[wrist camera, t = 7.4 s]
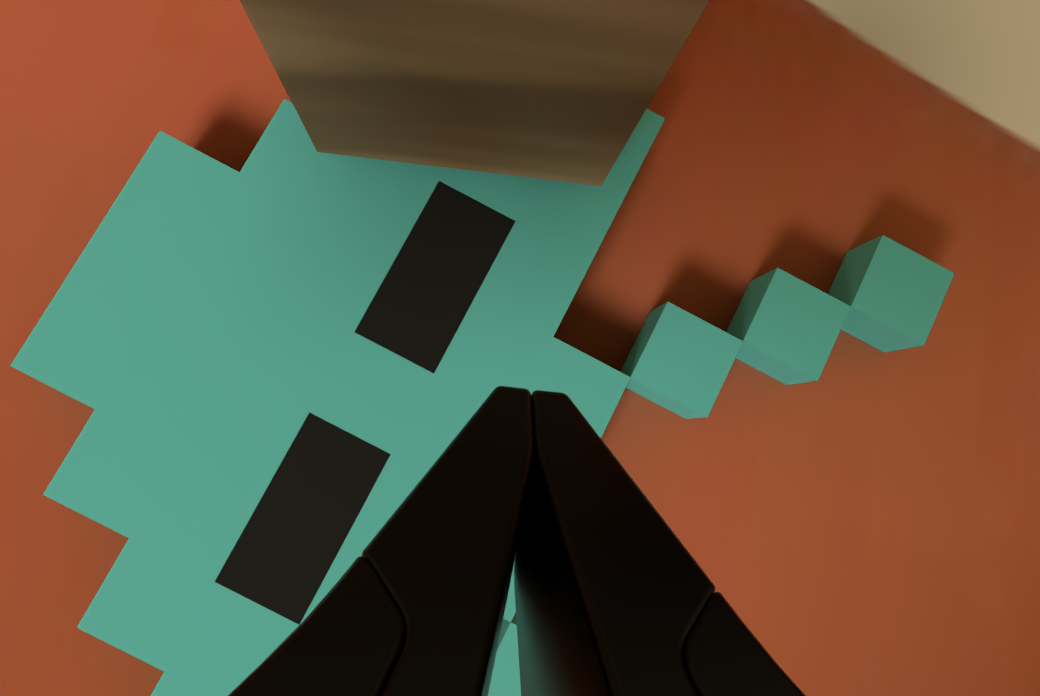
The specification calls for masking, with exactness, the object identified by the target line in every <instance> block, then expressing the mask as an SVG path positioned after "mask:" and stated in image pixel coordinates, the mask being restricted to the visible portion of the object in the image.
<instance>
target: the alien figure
mask: <svg viewBox="0 0 1040 696" xmlns="http://www.w3.org/2000/svg"><path fill="white" fill-rule="evenodd" d="M664 120H665V118H664V117H662V116H660V115H658V114H656V113H654V112H652V111H650V110H649V109H646V110H645V112H644V114H643V116H642V117H641V119H640V121H639V122H638V124H637V126H636V128H635V129H634V131H633V133H632V134H631V136H630V138H629V139H628V141H627V143H626V145H625V146H624V148H623V150H622V151H621V153H620V155H619V157H618V158H617V160H616V162H615V163H614V165H613V167H612V169H611V170H610V172H609V174H608V175H607V177H606V179H605V181H604V182H603V184H602V186H596V185H588V184H580V183H571V182H563V181H555V180H546V179H538V178H530V177H521V176H513V175H504V174H496V173H488V172H479V171H471V170H463V169H454V168H446V167H438V166H429V165H421V164H412V163H404V162H396V161H387V160H379V159H371V158H362V157H354V156H346V155H337V154H329V153H321V152H317V151H316V149H315V147H314V145H313V143H312V141H311V139H310V137H309V135H308V133H307V131H306V129H305V127H304V125H303V123H302V121H301V119H300V117H299V115H298V113H297V111H296V109H295V107H294V105H293V103H291V102H289V101H287V100H285V99H284V100H283V102H282V103H281V105H280V107H279V108H278V110H277V112H276V113H275V115H274V117H273V118H272V120H271V121H270V123H269V125H268V126H267V128H266V130H265V131H264V133H263V135H262V136H261V138H260V140H259V141H258V143H257V144H256V146H255V148H254V149H253V151H252V153H251V154H250V156H249V158H248V159H247V161H246V162H245V164H244V166H243V167H242V169H241V171H240V172H238V171H236V170H234V169H232V168H230V167H229V166H227V165H225V164H223V163H221V162H219V161H217V160H215V159H213V158H211V157H209V156H208V155H206V154H204V153H202V152H200V151H198V150H196V149H194V148H192V147H190V146H188V145H187V144H185V143H183V142H181V141H179V140H177V139H175V138H173V137H171V136H169V135H167V134H166V133H164V132H162V131H159V133H158V134H157V136H156V137H155V139H154V141H153V142H152V144H151V145H150V147H149V148H148V150H147V152H146V153H145V155H144V156H143V158H142V159H141V161H140V163H139V164H138V166H137V167H136V169H135V170H134V172H133V174H132V175H131V177H130V178H129V180H128V181H127V183H126V185H125V186H124V188H123V189H122V191H121V192H120V194H119V196H118V197H117V199H116V200H115V202H114V203H113V205H112V207H111V208H110V210H109V211H108V213H107V214H106V216H105V218H104V219H103V221H102V222H101V224H100V225H99V227H98V229H97V230H96V232H95V233H94V235H93V236H92V238H91V240H90V241H89V243H88V244H87V246H86V247H85V249H84V251H83V252H82V254H81V255H80V257H79V258H78V260H77V262H76V263H75V265H74V266H73V268H72V269H71V271H70V273H69V274H68V276H67V277H66V279H65V280H64V282H63V284H62V285H61V287H60V288H59V290H58V291H57V293H56V295H55V296H54V298H53V299H52V301H51V302H50V304H49V306H48V307H47V309H46V310H45V312H44V313H43V315H42V317H41V318H40V320H39V321H38V323H37V324H36V326H35V328H34V329H33V331H32V332H31V334H30V335H29V337H28V339H27V340H26V342H25V343H24V345H23V346H22V348H21V350H20V351H19V353H18V354H17V356H16V358H15V359H14V361H13V362H12V364H11V365H10V366H11V367H13V368H15V369H17V370H19V371H21V372H23V373H25V374H27V375H29V376H31V377H33V378H35V379H37V380H39V381H41V382H43V383H45V384H46V385H48V386H50V387H52V388H54V389H56V390H58V391H60V392H62V393H64V394H66V395H68V396H70V397H72V398H74V399H76V400H78V401H80V402H82V403H84V404H86V405H87V406H89V407H91V408H93V409H95V410H94V412H93V413H92V415H91V417H90V418H89V420H88V422H87V423H86V425H85V426H84V428H83V430H82V431H81V433H80V435H79V436H78V438H77V440H76V441H75V443H74V444H73V446H72V448H71V449H70V451H69V453H68V454H67V456H66V458H65V459H64V461H63V463H62V464H61V466H60V467H59V469H58V471H57V472H56V474H55V476H54V477H53V479H52V481H51V482H50V484H49V485H48V487H47V489H46V490H45V492H44V494H43V495H45V496H47V497H49V498H51V499H53V500H55V501H57V502H58V503H60V504H62V505H64V506H66V507H68V508H70V509H72V510H74V511H76V512H78V513H80V514H82V515H84V516H86V517H88V518H90V519H92V520H94V521H96V522H98V523H100V524H102V525H104V526H106V527H108V528H110V529H112V530H114V531H116V532H118V533H120V534H121V535H123V536H125V537H127V538H129V539H128V541H127V543H126V544H125V546H124V548H123V549H122V551H121V553H120V555H119V556H118V558H117V560H116V561H115V563H114V565H113V567H112V568H111V570H110V572H109V573H108V575H107V577H106V579H105V580H104V582H103V584H102V585H101V587H100V589H99V590H98V592H97V594H96V596H95V597H94V599H93V601H92V602H91V604H90V606H89V608H88V609H87V611H86V613H85V614H84V616H83V618H82V620H81V621H80V623H79V625H78V626H77V628H79V629H81V630H83V631H84V632H86V633H88V634H90V635H92V636H94V637H96V638H98V639H100V640H102V641H104V642H106V643H108V644H110V645H112V646H114V647H116V648H118V649H120V650H122V651H124V652H126V653H128V654H130V655H132V656H134V657H136V658H138V659H140V660H142V661H144V662H146V663H148V664H150V665H152V666H154V667H156V668H158V669H160V670H162V671H164V673H163V675H162V676H161V678H160V680H159V682H158V684H157V685H156V687H155V689H154V691H153V692H152V694H151V696H228V695H229V694H230V693H231V692H232V691H233V690H234V689H235V688H236V687H237V686H238V685H239V684H240V683H241V682H243V681H244V680H245V679H246V678H247V677H248V676H249V675H250V674H251V673H252V672H253V671H254V670H255V669H256V668H257V667H258V666H259V665H260V664H261V663H262V662H263V661H264V660H265V659H266V658H267V657H268V656H269V655H270V654H271V653H272V652H273V651H274V650H275V649H276V648H277V647H278V646H279V645H280V644H281V643H282V642H283V641H284V640H285V639H286V638H287V637H288V636H289V635H290V634H291V633H292V632H293V631H294V630H295V629H296V628H297V627H298V626H299V625H300V624H301V623H302V622H303V621H304V620H305V619H306V617H307V616H308V615H309V614H310V613H311V612H312V611H313V609H314V608H315V607H316V606H317V605H318V604H319V603H320V601H321V600H322V599H323V598H324V597H325V596H326V595H327V593H328V592H329V591H330V590H331V589H332V588H333V586H334V585H335V584H336V583H337V582H338V581H339V579H340V578H341V577H342V576H343V574H344V573H345V572H346V571H347V570H348V568H349V567H350V566H351V565H352V563H353V562H354V561H355V560H356V558H357V557H359V556H362V552H363V550H364V549H365V548H366V547H367V545H368V544H369V543H370V542H371V540H372V539H373V538H374V537H375V536H376V534H377V533H378V532H379V531H380V529H381V528H382V527H383V526H384V524H385V523H386V522H387V521H388V520H389V518H390V517H391V516H392V515H393V513H394V512H395V511H396V510H397V508H398V507H399V506H400V505H401V504H402V502H403V501H404V500H405V499H406V497H407V496H408V495H409V494H410V492H411V491H412V490H413V489H414V488H415V486H416V485H417V484H418V483H419V481H420V480H421V479H422V478H423V476H424V475H425V474H426V473H427V472H428V470H429V469H430V468H431V467H432V465H433V464H434V463H435V462H436V460H437V459H438V458H439V457H440V456H441V454H442V453H443V452H444V451H445V449H446V448H447V447H448V446H449V444H450V443H451V442H452V441H453V440H454V438H455V437H456V436H457V435H458V433H459V432H460V431H461V430H462V428H463V427H464V426H465V425H466V424H467V422H468V421H469V420H470V419H471V417H472V416H473V415H474V414H475V412H476V411H477V410H478V409H479V408H480V406H481V405H482V404H483V403H484V401H485V400H486V399H487V398H488V396H489V395H490V394H491V393H492V391H493V390H494V389H495V388H496V387H498V386H508V387H516V388H525V389H528V390H529V391H530V393H531V394H532V393H533V391H535V390H542V391H551V392H561V393H565V394H566V395H567V396H568V397H569V398H570V399H571V400H572V402H573V403H574V404H575V406H576V407H577V408H578V409H579V411H580V412H581V413H582V415H583V416H584V417H585V419H586V420H587V421H588V422H589V424H590V425H591V426H592V428H593V429H594V430H595V431H596V433H597V434H598V435H599V437H600V438H601V437H602V435H603V433H604V431H605V429H606V427H607V425H608V422H609V420H610V418H611V416H612V414H613V412H614V410H615V408H616V406H617V404H618V402H619V400H620V398H621V396H622V394H623V392H624V390H625V388H628V389H630V390H632V391H633V392H635V393H637V394H639V395H641V396H643V397H645V398H647V399H649V400H651V401H653V402H654V403H656V404H658V405H660V406H662V407H664V408H666V409H668V410H670V411H672V412H674V413H675V414H677V415H679V416H681V417H683V418H685V419H689V418H707V417H708V415H709V413H710V411H711V409H712V407H713V405H714V402H715V400H716V398H717V396H718V394H719V392H720V390H721V387H722V385H723V383H724V381H725V379H726V377H727V375H728V372H729V370H730V368H731V366H732V364H733V362H734V360H735V358H736V359H738V360H740V361H742V362H744V363H746V364H748V365H750V366H752V367H754V368H755V369H757V370H759V371H761V372H763V373H765V374H767V375H769V376H771V377H773V378H774V379H776V380H778V381H780V382H782V383H784V384H786V385H791V384H798V383H805V382H812V381H818V380H819V377H820V375H821V373H822V371H823V368H824V366H825V364H826V362H827V359H828V357H829V355H830V353H831V350H832V348H833V346H834V344H835V341H836V339H837V337H838V335H839V332H840V330H843V331H845V332H847V333H849V334H850V335H852V336H854V337H856V338H858V339H860V340H862V341H864V342H866V343H867V344H869V345H871V346H873V347H875V348H877V349H879V350H881V351H883V352H884V353H885V352H890V351H896V350H901V349H907V348H912V347H918V346H923V345H924V344H925V342H926V340H927V337H928V335H929V333H930V330H931V328H932V325H933V323H934V321H935V318H936V316H937V314H938V311H939V309H940V307H941V304H942V302H943V300H944V297H945V295H946V292H947V290H948V288H949V285H950V283H951V281H952V278H953V276H954V274H955V273H953V272H951V271H950V270H948V269H946V268H944V267H942V266H940V265H938V264H936V263H935V262H933V261H931V260H929V259H927V258H925V257H923V256H922V255H920V254H918V253H916V252H914V251H912V250H910V249H908V248H907V247H905V246H903V245H901V244H899V243H897V242H895V241H893V240H892V239H890V238H888V237H886V236H884V235H881V236H879V237H877V238H875V239H873V240H871V241H868V242H866V243H864V244H862V245H860V246H858V247H855V248H853V249H851V250H849V251H847V253H846V255H845V257H844V260H843V262H842V264H841V266H840V268H839V271H838V273H837V275H836V277H835V280H834V282H833V284H832V286H831V288H830V291H829V293H828V294H827V293H825V292H823V291H821V290H819V289H817V288H815V287H813V286H811V285H810V284H808V283H806V282H804V281H802V280H800V279H798V278H796V277H795V276H793V275H791V274H789V273H787V272H785V271H783V270H781V269H779V268H778V267H777V268H775V269H773V270H771V271H770V272H768V273H766V274H764V275H762V276H760V277H758V278H756V279H754V280H752V281H750V283H749V285H748V287H747V289H746V291H745V293H744V296H743V298H742V300H741V302H740V304H739V306H738V308H737V310H736V312H735V315H734V317H733V319H732V321H731V323H730V325H729V327H728V329H727V332H725V331H723V330H721V329H719V328H717V327H715V326H713V325H712V324H710V323H708V322H706V321H704V320H702V319H700V318H698V317H696V316H694V315H693V314H691V313H689V312H687V311H685V310H683V309H681V308H679V307H677V306H676V305H674V304H672V303H670V302H666V303H664V304H663V305H661V306H659V307H658V308H656V309H655V310H653V311H651V312H650V313H649V315H648V317H647V319H646V321H645V323H644V325H643V327H642V329H641V331H640V333H639V335H638V337H637V339H636V341H635V343H634V345H633V347H632V349H631V351H630V353H629V355H628V357H627V359H626V361H625V363H624V365H623V367H622V369H621V371H618V370H616V369H614V368H612V367H610V366H608V365H606V364H604V363H602V362H601V361H599V360H597V359H595V358H593V357H591V356H589V355H587V354H585V353H583V352H581V351H580V350H578V349H576V348H574V347H572V346H570V345H568V344H566V343H564V342H562V341H560V340H559V339H557V338H555V337H553V336H554V334H555V333H556V331H557V329H558V327H559V325H560V323H561V321H562V319H563V317H564V315H565V313H566V311H567V309H568V307H569V305H570V303H571V301H572V299H573V297H574V295H575V293H576V292H577V290H578V288H579V286H580V284H581V282H582V280H583V278H584V276H585V274H586V272H587V270H588V268H589V266H590V264H591V262H592V260H593V258H594V256H595V254H596V252H597V251H598V249H599V247H600V245H601V243H602V241H603V239H604V237H605V235H606V233H607V231H608V229H609V227H610V225H611V223H612V221H613V219H614V217H615V215H616V213H617V211H618V210H619V208H620V206H621V204H622V202H623V200H624V198H625V196H626V194H627V192H628V190H629V188H630V186H631V184H632V182H633V180H634V178H635V176H636V174H637V172H638V170H639V169H640V167H641V165H642V163H643V161H644V159H645V157H646V155H647V153H648V151H649V149H650V147H651V145H652V143H653V141H654V139H655V137H656V135H657V133H658V131H659V129H660V128H661V126H662V124H663V122H664ZM488 696H521V685H520V670H519V654H518V638H517V622H516V606H515V590H514V565H513V571H512V576H511V582H510V587H509V592H508V597H507V602H506V607H505V612H504V617H503V622H502V627H501V632H500V637H499V642H498V647H497V653H496V658H495V663H494V668H493V673H492V678H491V683H490V688H489V693H488Z"/></svg>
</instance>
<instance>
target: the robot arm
mask: <svg viewBox="0 0 1040 696" xmlns="http://www.w3.org/2000/svg"><path fill="white" fill-rule="evenodd" d="M513 565H514V590H515V606H516V622H517V638H518V654H519V670H520V685H521V696H805V695H804V693H803V692H802V691H801V690H800V689H799V688H798V687H797V686H796V685H795V683H794V682H793V681H792V680H791V679H790V678H789V677H788V676H787V674H786V673H785V672H784V671H783V670H782V669H781V668H780V667H779V665H778V664H777V663H776V662H775V661H774V659H773V658H772V657H771V656H770V655H769V653H768V652H767V651H766V650H765V648H764V647H763V646H762V645H761V644H760V642H759V641H758V640H757V639H756V637H755V636H754V635H753V634H752V632H751V631H750V630H749V629H748V628H747V626H746V625H745V624H744V623H743V621H742V620H741V619H740V618H739V616H738V615H737V614H736V612H735V611H734V610H733V609H732V607H731V606H730V605H729V603H728V602H727V601H726V599H725V598H724V597H723V596H722V594H721V593H719V592H715V586H714V584H713V583H712V582H711V580H710V579H709V578H708V577H707V575H706V574H705V573H704V571H703V570H702V569H701V568H700V566H699V565H698V564H697V562H696V561H695V560H694V558H693V557H692V556H691V555H690V553H689V552H688V551H687V549H686V548H685V547H684V546H683V544H682V543H681V542H680V540H679V539H678V538H677V536H676V535H675V534H674V533H673V531H672V530H671V529H670V527H669V526H668V525H667V523H666V522H665V521H664V520H663V518H662V517H661V516H660V514H659V513H658V512H657V511H656V509H655V508H654V507H653V505H652V504H651V503H650V501H649V500H648V499H647V498H646V496H645V495H644V494H643V492H642V491H641V490H640V488H639V487H638V486H637V485H636V483H635V482H634V481H633V479H632V478H631V477H630V476H629V474H628V473H627V472H626V470H625V469H624V468H623V466H622V465H621V464H620V463H619V461H618V460H617V459H616V457H615V456H614V455H613V454H612V452H611V451H610V450H609V448H608V447H607V446H606V444H605V443H604V442H603V441H602V439H601V438H600V437H599V435H598V434H597V433H596V431H595V430H594V429H593V428H592V426H591V425H590V424H589V422H588V421H587V420H586V419H585V417H584V416H583V415H582V413H581V412H580V411H579V409H578V408H577V407H576V406H575V404H574V403H573V402H572V400H571V399H570V398H569V397H568V396H567V395H566V394H565V393H561V392H551V391H542V390H535V391H533V393H532V394H531V393H530V391H529V390H528V389H525V388H516V387H508V386H498V387H496V388H495V389H494V390H493V391H492V393H491V394H490V395H489V396H488V398H487V399H486V400H485V401H484V403H483V404H482V405H481V406H480V408H479V409H478V410H477V411H476V412H475V414H474V415H473V416H472V417H471V419H470V420H469V421H468V422H467V424H466V425H465V426H464V427H463V428H462V430H461V431H460V432H459V433H458V435H457V436H456V437H455V438H454V440H453V441H452V442H451V443H450V444H449V446H448V447H447V448H446V449H445V451H444V452H443V453H442V454H441V456H440V457H439V458H438V459H437V460H436V462H435V463H434V464H433V465H432V467H431V468H430V469H429V470H428V472H427V473H426V474H425V475H424V476H423V478H422V479H421V480H420V481H419V483H418V484H417V485H416V486H415V488H414V489H413V490H412V491H411V492H410V494H409V495H408V496H407V497H406V499H405V500H404V501H403V502H402V504H401V505H400V506H399V507H398V508H397V510H396V511H395V512H394V513H393V515H392V516H391V517H390V518H389V520H388V521H387V522H386V523H385V524H384V526H383V527H382V528H381V529H380V531H379V532H378V533H377V534H376V536H375V537H374V538H373V539H372V540H371V542H370V543H369V544H368V545H367V547H366V548H365V549H364V550H363V552H362V556H359V557H357V558H356V560H355V561H354V562H353V563H352V565H351V566H350V567H349V568H348V570H347V571H346V572H345V573H344V574H343V576H342V577H341V578H340V579H339V581H338V582H337V583H336V584H335V585H334V586H333V588H332V589H331V590H330V591H329V592H328V593H327V595H326V596H325V597H324V598H323V599H322V600H321V601H320V603H319V604H318V605H317V606H316V607H315V608H314V609H313V611H312V612H311V613H310V614H309V615H308V616H307V617H306V619H305V620H304V621H303V622H302V623H301V624H300V625H299V626H298V627H297V628H296V629H295V630H294V631H293V632H292V633H291V634H290V635H289V636H288V637H287V638H286V639H285V640H284V641H283V642H282V643H281V644H280V645H279V646H278V647H277V648H276V649H275V650H274V651H273V652H272V653H271V654H270V655H269V656H268V657H267V658H266V659H265V660H264V661H263V662H262V663H261V664H260V665H259V666H258V667H257V668H256V669H255V670H254V671H253V672H252V673H251V674H250V675H249V676H248V677H247V678H246V679H245V680H244V681H243V682H241V683H240V684H239V685H238V686H237V687H236V688H235V689H234V690H233V691H232V692H231V693H230V694H229V695H228V696H488V693H489V688H490V683H491V678H492V673H493V668H494V663H495V658H496V653H497V647H498V642H499V637H500V632H501V627H502V622H503V617H504V612H505V607H506V602H507V597H508V592H509V587H510V582H511V576H512V571H513ZM714 592H715V593H714Z"/></svg>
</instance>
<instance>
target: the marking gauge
mask: <svg viewBox="0 0 1040 696" xmlns="http://www.w3.org/2000/svg"><path fill="white" fill-rule="evenodd" d="M240 1H241V3H242V5H243V7H244V9H245V11H246V13H247V15H248V17H249V19H250V21H251V23H252V24H253V26H254V28H255V30H256V32H257V34H258V36H259V38H260V40H261V42H262V44H263V46H264V48H265V50H266V52H267V54H268V56H269V58H270V60H271V62H272V64H273V66H274V68H275V70H276V72H277V74H278V76H279V78H280V80H281V82H282V84H283V86H284V88H285V89H286V91H287V93H288V95H289V97H290V99H291V101H292V103H293V105H294V107H295V109H296V111H297V113H298V115H299V117H300V119H301V121H302V123H303V125H304V127H305V129H306V131H307V133H308V135H309V137H310V139H311V141H312V143H313V145H314V147H315V149H316V151H317V152H321V153H329V154H337V155H346V156H354V157H362V158H371V159H379V160H387V161H396V162H404V163H412V164H421V165H429V166H438V167H446V168H454V169H463V170H471V171H479V172H488V173H496V174H504V175H513V176H521V177H530V178H538V179H546V180H555V181H563V182H571V183H580V184H588V185H596V186H602V184H603V182H604V181H605V179H606V177H607V175H608V174H609V172H610V170H611V169H612V167H613V165H614V163H615V162H616V160H617V158H618V157H619V155H620V153H621V151H622V150H623V148H624V146H625V145H626V143H627V141H628V139H629V138H630V136H631V134H632V133H633V131H634V129H635V128H636V126H637V124H638V122H639V121H640V119H641V117H642V116H643V114H644V112H645V110H646V109H647V107H648V105H649V104H650V102H651V100H652V98H653V97H654V95H655V93H656V92H657V90H658V88H659V86H660V85H661V83H662V81H663V80H664V78H665V76H666V74H667V73H668V71H669V69H670V68H671V66H672V64H673V62H674V61H675V59H676V57H677V56H678V54H679V52H680V50H681V49H682V47H683V45H684V44H685V42H686V40H687V38H688V37H689V35H690V33H691V32H692V30H693V28H694V26H695V25H696V23H697V21H698V20H699V18H700V16H701V14H702V13H703V11H704V9H705V8H706V6H707V4H708V2H709V1H710V0H240Z"/></svg>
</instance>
